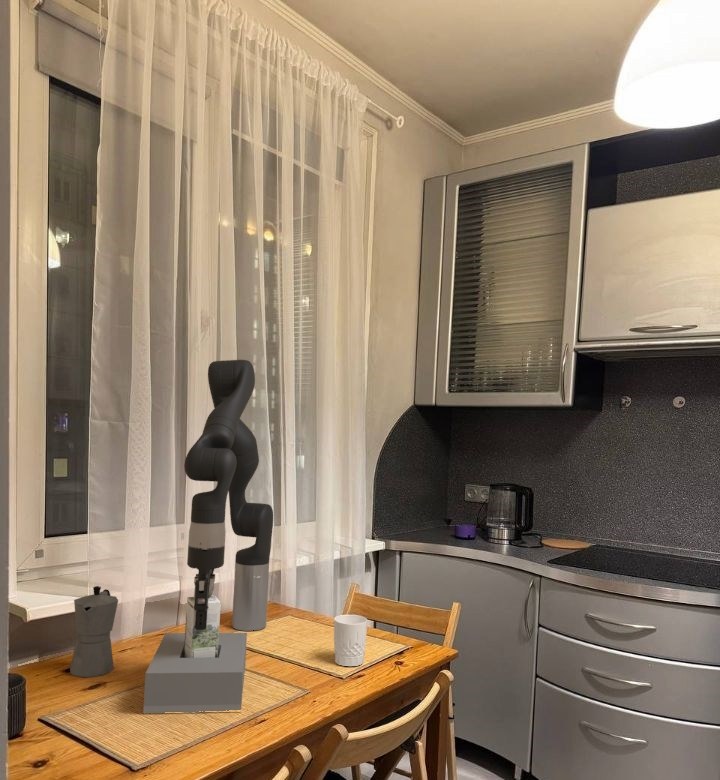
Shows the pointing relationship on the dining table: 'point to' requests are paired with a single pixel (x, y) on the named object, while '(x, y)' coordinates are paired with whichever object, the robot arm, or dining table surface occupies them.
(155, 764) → the dining table surface
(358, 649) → the white cup
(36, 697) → the dining table surface
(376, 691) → the dining table surface
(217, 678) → the post block
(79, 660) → the coffeepot
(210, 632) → the syrup box
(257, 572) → the robot arm
